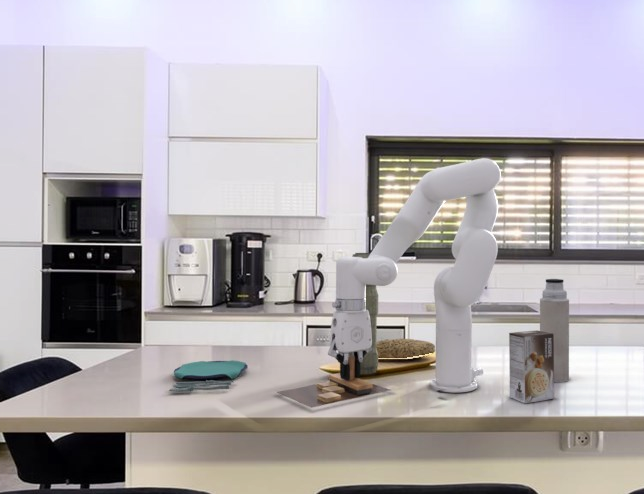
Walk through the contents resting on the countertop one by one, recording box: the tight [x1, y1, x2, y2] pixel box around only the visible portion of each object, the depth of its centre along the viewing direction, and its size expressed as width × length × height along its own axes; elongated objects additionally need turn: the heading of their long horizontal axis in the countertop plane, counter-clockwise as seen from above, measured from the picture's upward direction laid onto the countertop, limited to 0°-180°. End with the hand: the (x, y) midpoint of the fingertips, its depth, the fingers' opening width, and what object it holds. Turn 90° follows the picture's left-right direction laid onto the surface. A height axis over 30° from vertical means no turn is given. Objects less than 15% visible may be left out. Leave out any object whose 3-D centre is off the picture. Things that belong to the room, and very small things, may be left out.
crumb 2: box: [322, 385, 344, 394], centre depth 137 cm, size 4×4×1 cm
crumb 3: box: [317, 392, 341, 403], centre depth 131 cm, size 4×4×1 cm
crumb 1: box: [316, 380, 338, 389], centre depth 142 cm, size 4×4×1 cm
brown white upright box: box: [508, 330, 555, 404], centre depth 136 cm, size 9×6×16 cm
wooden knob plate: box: [328, 355, 374, 395], centre depth 141 cm, size 4×14×8 cm, turn 38°
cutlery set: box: [168, 359, 248, 393], centre depth 154 cm, size 20×30×2 cm, turn 9°
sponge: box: [376, 337, 436, 361], centre depth 181 cm, size 13×8×20 cm
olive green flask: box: [348, 252, 379, 375], centre depth 160 cm, size 9×12×35 cm
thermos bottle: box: [539, 278, 570, 383], centre depth 156 cm, size 8×8×28 cm
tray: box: [276, 383, 391, 409], centre depth 139 cm, size 23×17×1 cm
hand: (350, 377), depth 141 cm, fingers closed on wooden knob plate, 2 cm apart
